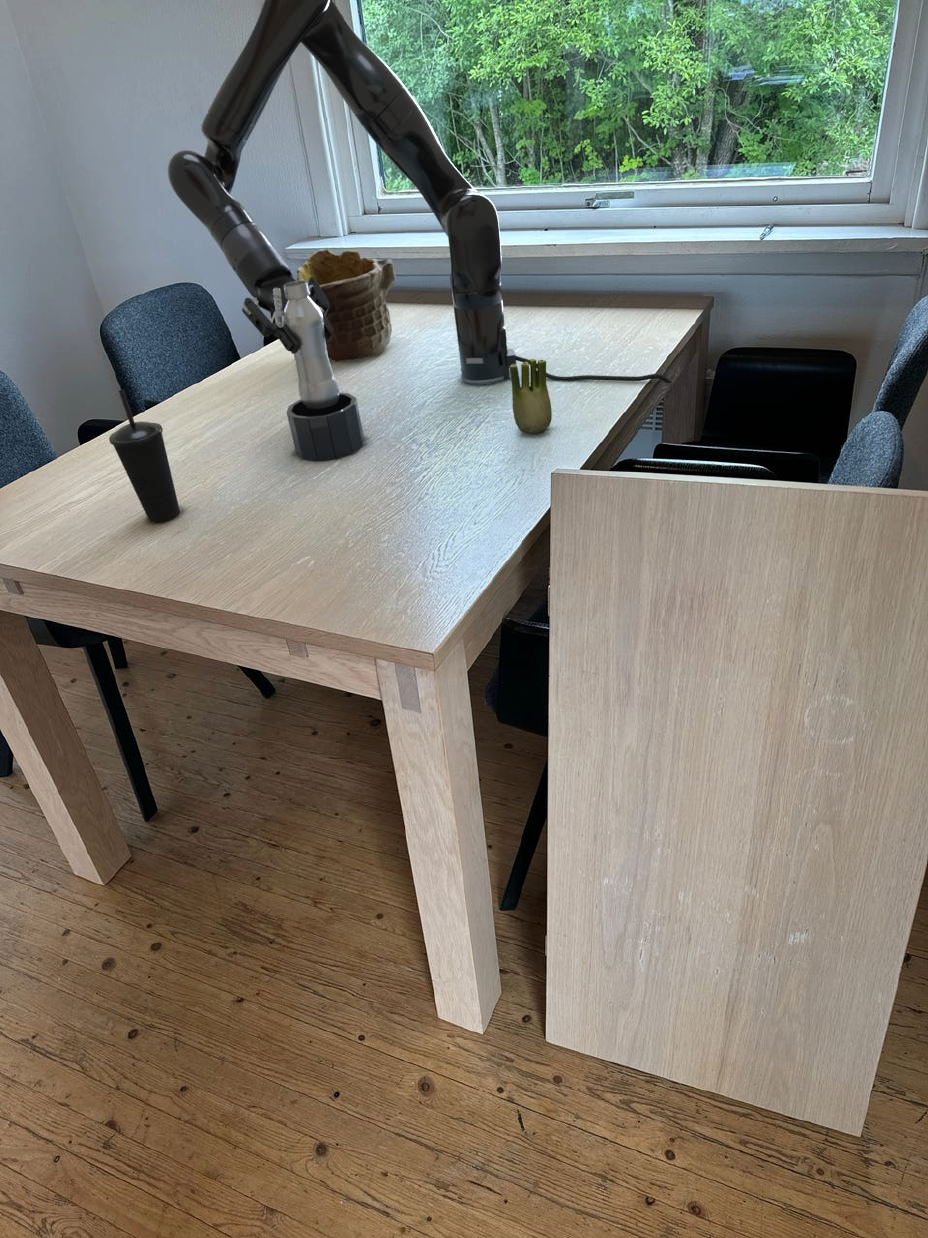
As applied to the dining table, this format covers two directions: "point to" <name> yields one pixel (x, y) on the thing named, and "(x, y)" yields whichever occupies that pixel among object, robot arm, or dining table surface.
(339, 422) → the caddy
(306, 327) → the silver water bottle
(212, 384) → the dining table surface
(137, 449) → the drinking cup
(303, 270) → the ceramic vessel
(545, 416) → the fennel bulb
